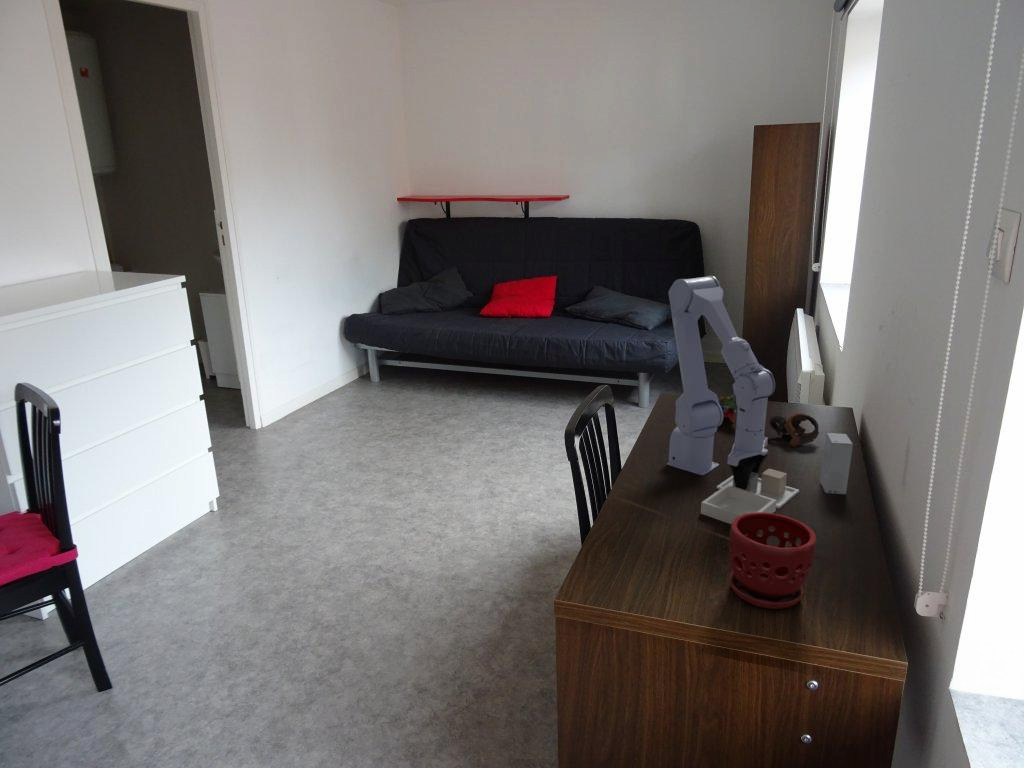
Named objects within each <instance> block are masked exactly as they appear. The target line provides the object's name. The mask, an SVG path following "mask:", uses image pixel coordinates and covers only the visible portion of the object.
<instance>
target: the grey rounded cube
mask: <svg viewBox="0 0 1024 768" xmlns="http://www.w3.org/2000/svg"><path fill="white" fill-rule="evenodd" d="M758 478H759V472H758V473H755V472H751V474H750V477H749V481H748V485H747V488H746V491H749V492H753V493H754V492H756V491H757V485H758ZM733 487H735V482H734V477H733Z"/></svg>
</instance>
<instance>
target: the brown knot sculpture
mask: <svg viewBox="0 0 1024 768" xmlns="http://www.w3.org/2000/svg"><path fill="white" fill-rule="evenodd" d="M805 421H809V422H810V424H811V425H812V426H814V427H813V428H814V429H813V431H811V432H807V433H806V431H807V429H806V428H804V427H802V426H801V425H800V424H801V423H802V422H805ZM768 422H769V426H770V427H771V428H772V430H773V431H775V432H776V434H777V436H785V435H786V434H789V436H791V439H790V441H788V442H789V446H791V447H793V448H796V447H798V445H801V446H802V445H806V444H808V443H812V442H814V440H816V439H817V438H818V436H819V434H820V432H819V424H818V422H817V420H816V419H815V418H814V417H813V416H811V415H808V414H806V413H802V412H801V413H798V412H797V413H793V414H791V415H790V416H788V417H784V416H782V415H778V414H777V415H772V416H771V417H770V418H769V420H768Z"/></svg>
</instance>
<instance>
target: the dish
mask: <svg viewBox="0 0 1024 768" xmlns="http://www.w3.org/2000/svg"><path fill="white" fill-rule="evenodd" d="M776 501H777V500H775V499H772V498H769V497H765V496H762V495H759V494H756V493H753V492H749V491H746V490H743V489H740V488H737V487H733V486H730V485H726V486H724V487H723V488H721V489H720V490H719V489H717V491H715V492H714V493H712V494H711V495H710V496H709V497H707V498H706V499H704V500H702V501H701V506H700V514H701V515H704V516H707V517H710V518H711V519H715V520H717V521H720V522H724V523H727V524H730V525H731V524H732V522H733V520H734V519H735V518H736V517H738V516H740V515H743V514H747V513H756V512H763V513H773V514H775V512H776V510H777V508H776Z"/></svg>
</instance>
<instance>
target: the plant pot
mask: <svg viewBox="0 0 1024 768" xmlns="http://www.w3.org/2000/svg"><path fill="white" fill-rule="evenodd" d="M770 527H773V528H774V529H773V530H771V529H770ZM759 530H761V531H763V532H762V534H759V535H758V534H757V532H758V531H759ZM746 531H747V533H746V534H745V532H746ZM785 533H787V534H788V536H786V535H785ZM769 537H776V538H777V539H778V540H779V544H778V545H777V546H771V545H769V543H768V538H769ZM797 539H799V541H800V544H798V543H797ZM786 542H788V543H790V544H791V547H787V546H786V544H787V543H786ZM816 545H817V536H816V533H815V532H814V531H813V530H812V528H811V527H809V526H808V525H806V524H805V523H803V522H801V521H799V520H797V519H795V518H792V517H788V516H786V515H781V514H777V513H763V512H756V513H747V514H743V515H740V516H738V517H736V518H735V519H734V520H733V522H732V524H730V530H729V540H728V553H729V561H730V566H731V569H732V572H731V573H730V575H729V579H728V580H729V584H730V585H729V586H730V587H731V589H732V590H733V592H734V593H735V595H737V596H738V597H739V598H740V599H742V600H744V601H745V602H748V603H749V604H752V605H753V606H755V607H760V608H765V609H775V610H779V609H787V608H789V607H793V606H795V605H796V604H798V602H799V601H800V600H801V599H802V597H804V588H803V584H804V583H805V581H806V580H807V578H808V576H809V574H810V570H811V568H812V565H813V562H814V561H813V560H814V556H815V551H816Z"/></svg>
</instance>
